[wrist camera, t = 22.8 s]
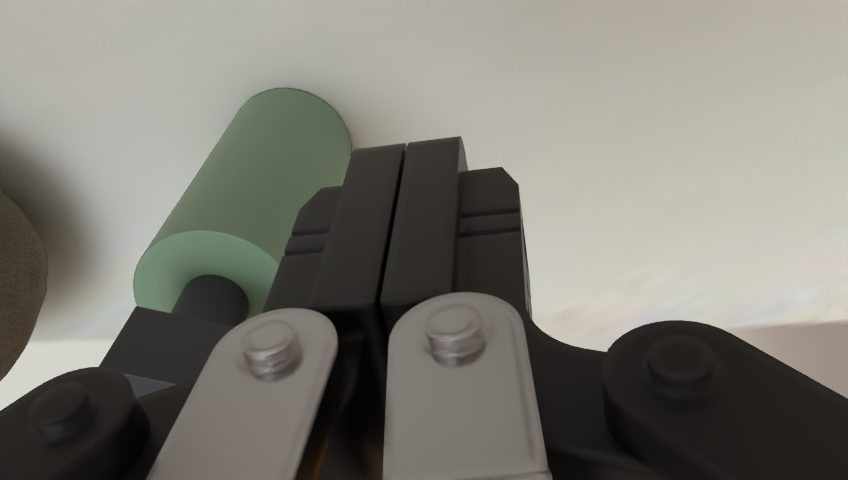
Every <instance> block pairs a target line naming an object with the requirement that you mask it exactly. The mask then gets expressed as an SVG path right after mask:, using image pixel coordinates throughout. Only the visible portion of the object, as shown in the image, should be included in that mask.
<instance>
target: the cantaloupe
mask: <svg viewBox="0 0 848 480" xmlns="http://www.w3.org/2000/svg"><path fill="white" fill-rule="evenodd" d="M47 276H48V260H47V254H46V251H45V247H44V245H43V243H42V240H41V238H40V236H39V235H38V233H37V231H36V230H35V228H34V226H33V225H32V223H31V222H30V220H29V219H28V217H27V216H26V215H25V213H24V212H23V211H22V210H21V209H20V208H19V207H18V206H17V204H16V203H15V202H14V201H13V200H12V199H10V198H9V197H8V196H7V195H6V194H5V193H3V192H2V191H1V190H0V381H1V380H2V379H3V378H4V377H5V376H6V375H7V373H8V372H9V371H10V369H11V368H12V367H13V365H14V364H15V362H16V361H17V359H18V358H19V357H20V355H21V353H22V352H23V350H24V349H25V347H26V345H27V343H28V341H29V339H30V337H31V334H32V332H33V330H34V327H35V324H36V321H37V318H38V315H39V312H40V309H41V306H42V304H43V301H44V298H45V295H46V290H47Z"/></svg>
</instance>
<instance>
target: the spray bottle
mask: <svg viewBox="0 0 848 480" xmlns="http://www.w3.org/2000/svg"><path fill="white" fill-rule="evenodd" d="M350 157H351V143H350V137H349V134H348V131H347V129H346V126H345V124H344V122H343V121H342V119H341V118H340V116H339V115H338V114H337V113H336V111H335V110H334V109H333V108H332V107H331V106H329V105H328V104H327V103H326V102H324V101H323V100H322V99H320V98H318V97H316V96H315V95H312V94H310V93H308V92H304V91H301V90H296V89H289V88H280V89H272V90H267V91H265V92H262V93H259V94H257V95H256V96H254V97H252V98H251V99H250V100H248V101H247V102H246V103H245V104H244V105H243V106H242V107H241V109H240V110H239V111H238V113H237V114H236V116H235V117H234V119H233V120H232V122H231V123H230V125H229V126H228V128H227V129H226V131H225V132H224V134H223V135H222V137H221V138H220V140H219V141H218V143H217V144H216V146H215V147H214V149H213V150H212V152H211V153H210V155H209V156H208V158H207V159H206V161H205V162H204V164H203V165H202V167H201V168H200V170H199V172H198V173H197V175H196V176H195V178H194V179H193V181H192V182H191V184H190V185H189V187H188V188H187V190H186V191H185V193H184V194H183V196H182V197H181V199H180V200H179V202H178V203H177V205H176V206H175V208H174V209H173V211H172V212H171V214H170V215H169V217H168V218H167V220H166V221H165V223H164V224H163V226H162V227H161V229H160V230H159V232H158V233H157V235H156V236H155V238H154V239H153V241H152V242H151V244H150V245H149V247H148V248H147V250H146V251H145V253H144V254H143V256H142V257H141V259H140V261H139V263H138V265H137V267H136V270H135V274H134V281H133V287H134V296H135V301H136V304H137V306H136V307H135V309H134V311H133V312H132V314H131V315H130V317H129V319H128V320H127V322H126V324H125V325H124V327H123V328H122V330H121V332H120V333H119V335H118V337H117V338H116V340H115V341H114V343H113V345H112V346H111V348H110V349H109V351H108V353H107V354H106V356H105V358H104V359H103V361H102V362H101V364H100V366H99V367H104V368H111V369H114V370H117V371H119V372H121V373H123V374H124V375H125V376H126V377H127V378H128V380H129V382H130V384H131V386H132V388H133V389H134V391H135V393H136V395H137V397H140V396H143V395H146V394H149V393H152V392H156V391H159V390H162V389H165V388H168V387H171V386H175V385H178V384H181V383H184V382H187V381H190V380H193V379H195V378H198V377H199V375H200V373H201V372H202V370H203V368H204V366H205V364H206V362H207V360H208V358H209V356H210V354H211V352H212V351H213V349H214V348H215V346H216V344H217V343H218V342H219V341H220V340H221V339H222V338H223V337H224V336H225V335H226V334H227V333H228V332H229V331H230V330H232V329H233V328H235V327H236V326H237V325H239V324H241V323H242V322H244V321H246V320H248V319H250V318H252V317H255V316H257V315H259V314H262V311H263V308H264V306H265V303H266V300H267V297H268V295H269V292H270V289H271V287H272V284H273V281H274V278H275V276H276V273H277V270H278V267H279V265H280V262H281V259H282V256H285V252H284V251H285V248H286V245H287V243H288V240H289V237H292V234H291V232H292V229H293V226H294V223H295V221H296V218H297V215H298V212H299V210H300V209H301V208H302V207H303V206H304V205H305V204H306V203H307V202H308V201H309V200H310V199H311V198H312V197H313V196H314V195H315V194H316V193H317V192H318V191H319V190H320V189H321V188H325V187H334V186H342V184H343V181H344V178H345V175H346V172H347V169H348V165H349V162H350Z"/></svg>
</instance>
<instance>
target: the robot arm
mask: <svg viewBox="0 0 848 480" xmlns="http://www.w3.org/2000/svg"><path fill="white" fill-rule="evenodd" d="M291 234H292V237H289V240H288V243H287V245H286V248H285V251H284V252H285V256H282V259H281V262H280V265H279V267H278V270H277V273H276V276H275V278H274V281H273V284H272V287H271V289H270V292H269V295H268V297H267V300H266V303H265V306H264V308H263V311H262V314H259V315H257V316H255V317H252V318H250V319H248V320H246V321H244V322H242V323H241V324H239V325H237V326H236V327H235V328H233V329H232V330H230V331H229V332H228V333H227V334H226V335H225V336H224V337H223V338H222V339H221V340H220V341H219V342H218V343H217V344H216V346H215V348H214V349H213V351H212V352H211V354H210V356H209V358H208V360H207V362H206V364H205V366H204V368H203V370H202V372H201V373H200V375H199V377H198V378H195V379H193V380H190V381H187V382H184V383H181V384H178V385H175V386H171V387H168V388H165V389H162V390H159V391H156V392H152V393H149V394H146V395H143V396H140V397H137V395H136V393H135V391H134V389H133V388H132V386H131V384H130V382H129V380H128V378H127V377H126V376H125V375H124V374H123V373H121V372H119V371H117V370H114V369H111V368H104V367H90V368H84V369H79V370H75V371H71V372H68V373H65V374H62V375H60V376H57V377H55V378H53V379H51V380H49V381H47V382H45V383H43V384H42V385H40V386H38V387H36V388H35V389H33V390H32V391H30V392H29V393H27V394H25V395H24V396H22V397H21V398H19V399H18V400H16V401H15V402H14V403H12V404H10V405H9V406H7V407H6V408H4V409H3V410H1V411H0V480H848V399H847V398H845V397H843V396H842V395H840V394H838V393H836V392H835V391H833V390H831V389H829V388H827V387H825V386H824V385H822V384H820V383H818V382H816V381H815V380H813V379H811V378H809V377H808V376H806V375H804V374H802V373H801V372H799V371H797V370H795V369H793V368H791V367H790V366H788V365H786V364H784V363H783V362H781V361H779V360H777V359H775V358H774V357H772V356H770V355H768V354H766V353H765V352H763V351H761V350H759V349H758V348H756V347H754V346H752V345H750V344H749V343H747V342H745V341H743V340H741V339H740V338H738V337H736V336H734V335H733V334H731V333H729V332H726V331H724V330H722V329H720V328H717V327H714V326H711V325H708V324H703V323H698V322H692V321H682V320H680V321H661V322H655V323H650V324H646V325H643V326H640V327H638V328H635V329H633V330H631V331H629V332H627V333H626V334H624V335H622V336H621V337H620V338H619V339H617V340H616V341H615V342H614V343H613V344H612V346H611V347H610V348H609V349H608V351H607V352H602V351H596V350H590V349H584V348H579V347H575V346H571V345H568V344H565V343H562V342H560V341H558V340H556V339H554V338H552V337H550V336H549V335H547V334H546V333H544V332H543V331H542V330H541V329H539V328H538V327H537V326H536V325H535V323H534V322H533V321H532V308H531V294H530V279H529V269H528V261H527V252H526V244H525V236H524V227H523V219H522V211H521V203H520V194H519V186H518V184H517V183H516V182H515V181H514V180H513V179H512V177H511V176H510V175H509V174H508V173H507V172H506V171H505V170H504V169H503V168H502V167H497V168H488V169H480V170H471V171H468V168H467V162H466V155H465V150H464V145H463V141H462V138H461V136H459V137H451V138H443V139H435V140H427V141H418V142H410V143H409V144H408V146H407V144H406V143H403V144H395V145H387V146H379V147H371V148H362V149H355V150H354V151H353V152H352V155H351V159H350V162H349V165H348V169H347V172H346V176H345V179H344V182H343V186H334V187H325V188H321V189H320V190H319V191H318V192H317V193H316V194H315V195H314V196H313V197H312V198H311V199H310V200H309V201H308V202H307V203H306V204H305V205H304V206H303V207H302V208H301V209H300V210H299V212H298V215H297V218H296V221H295V223H294V226H293V229H292V232H291Z"/></svg>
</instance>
